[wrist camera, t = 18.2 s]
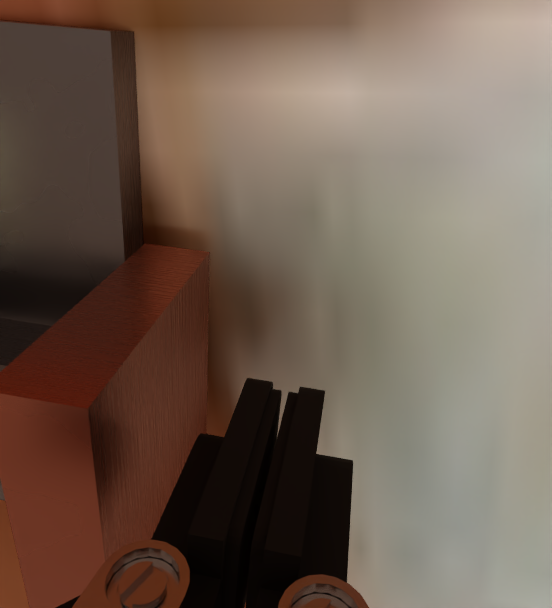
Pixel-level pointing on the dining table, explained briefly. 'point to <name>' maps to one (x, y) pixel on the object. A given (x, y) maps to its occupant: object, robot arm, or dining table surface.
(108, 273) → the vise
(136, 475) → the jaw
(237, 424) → the robot arm
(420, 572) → the dining table surface
